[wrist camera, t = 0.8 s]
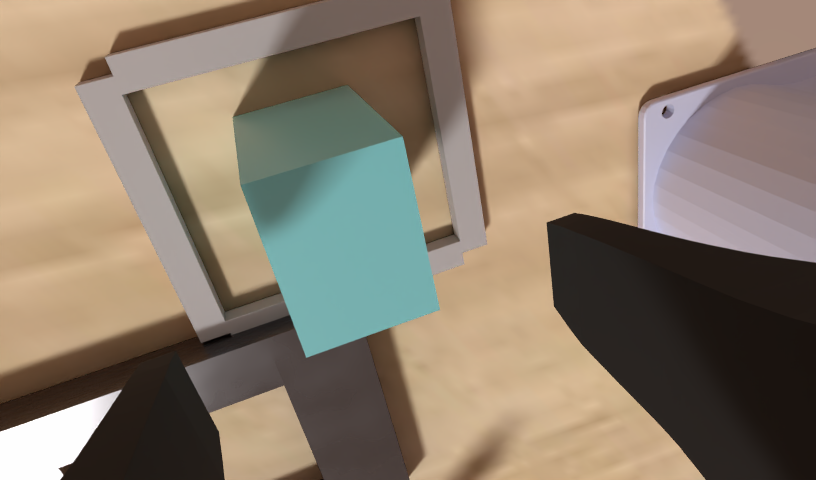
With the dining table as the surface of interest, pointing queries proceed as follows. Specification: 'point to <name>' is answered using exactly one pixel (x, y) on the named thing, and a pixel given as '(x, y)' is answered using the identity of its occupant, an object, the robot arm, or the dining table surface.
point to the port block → (223, 403)
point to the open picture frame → (253, 39)
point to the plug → (335, 216)
